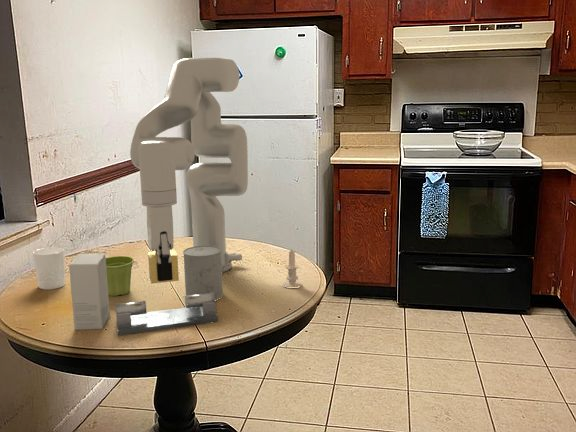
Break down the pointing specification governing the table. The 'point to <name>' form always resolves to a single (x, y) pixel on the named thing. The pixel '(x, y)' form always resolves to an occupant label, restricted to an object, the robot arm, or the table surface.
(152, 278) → the coupler
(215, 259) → the grey can
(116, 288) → the plant pot
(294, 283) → the candle
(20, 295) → the table surface
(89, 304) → the skincare box
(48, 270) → the white cup
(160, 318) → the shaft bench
